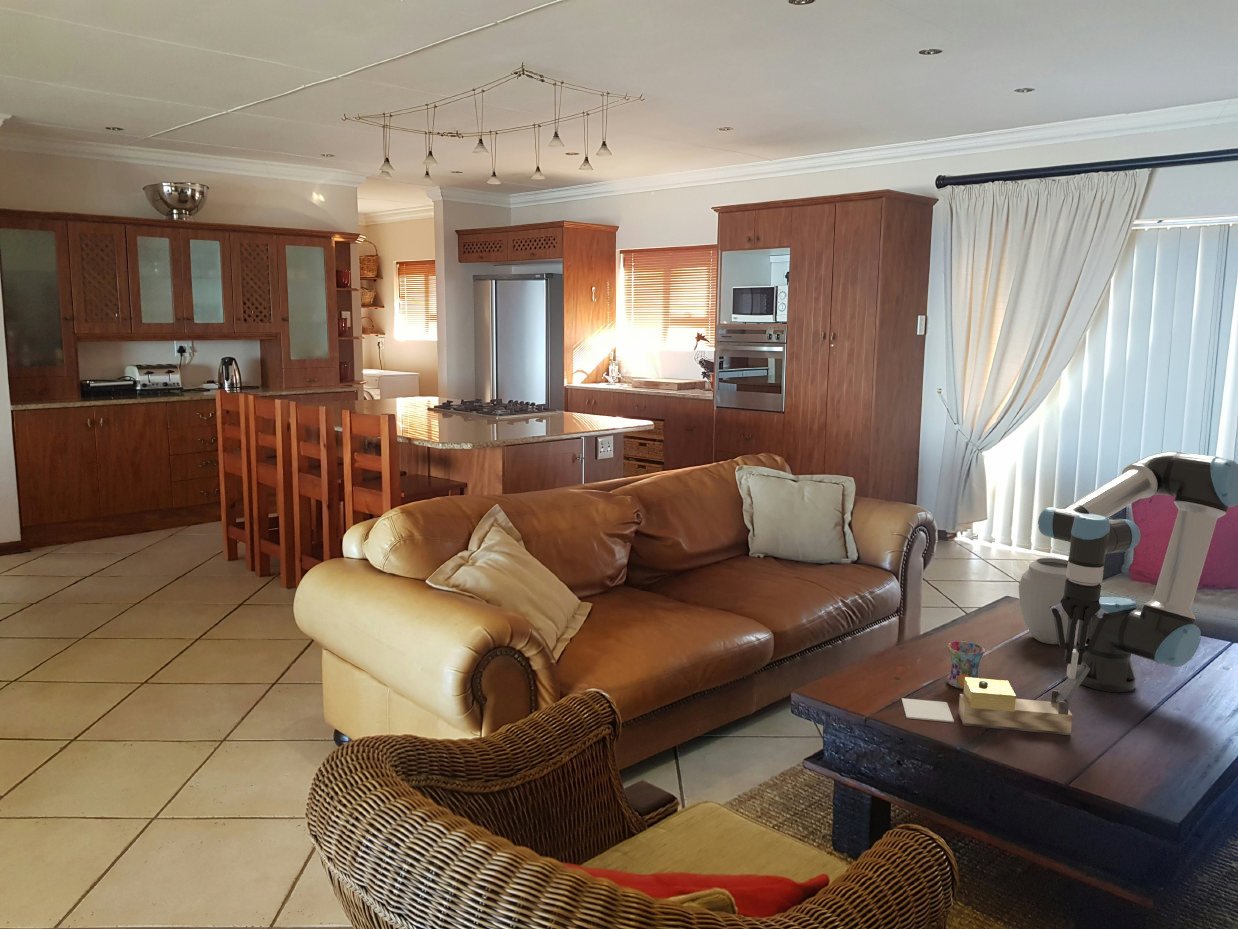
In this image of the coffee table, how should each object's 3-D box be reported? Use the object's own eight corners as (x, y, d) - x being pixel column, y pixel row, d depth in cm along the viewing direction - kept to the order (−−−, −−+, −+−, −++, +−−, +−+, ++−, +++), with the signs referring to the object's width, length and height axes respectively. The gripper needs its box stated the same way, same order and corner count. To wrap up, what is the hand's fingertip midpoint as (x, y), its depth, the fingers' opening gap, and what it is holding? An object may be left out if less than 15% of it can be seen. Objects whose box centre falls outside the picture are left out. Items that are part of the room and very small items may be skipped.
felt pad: (946, 703, 231) (946, 702, 231) (953, 722, 221) (953, 721, 221) (901, 699, 234) (901, 698, 233) (906, 718, 223) (906, 716, 223)
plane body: (1062, 722, 222) (1065, 691, 220) (1070, 735, 215) (1073, 703, 214) (958, 712, 226) (960, 682, 225) (963, 725, 219) (965, 693, 218)
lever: (1057, 700, 220) (1084, 661, 218) (1063, 710, 215) (1091, 669, 212) (1053, 698, 220) (1079, 658, 218) (1059, 707, 215) (1086, 667, 213)
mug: (971, 695, 237) (974, 656, 235) (938, 684, 244) (941, 646, 242) (992, 683, 245) (996, 645, 243) (959, 673, 252) (962, 636, 250)
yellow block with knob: (1006, 696, 224) (1007, 677, 224) (1014, 711, 216) (1016, 692, 215) (963, 692, 226) (964, 674, 225) (970, 707, 217) (971, 688, 217)
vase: (1081, 656, 265) (1089, 575, 261) (1009, 643, 275) (1016, 565, 271) (1087, 637, 281) (1095, 560, 277) (1019, 625, 291) (1026, 551, 287)
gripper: (1108, 579, 215) (1095, 673, 219) (1050, 573, 217) (1038, 667, 221) (1118, 588, 207) (1104, 686, 212) (1058, 582, 210) (1045, 679, 214)
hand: (1070, 676), depth 216 cm, fingers closed
